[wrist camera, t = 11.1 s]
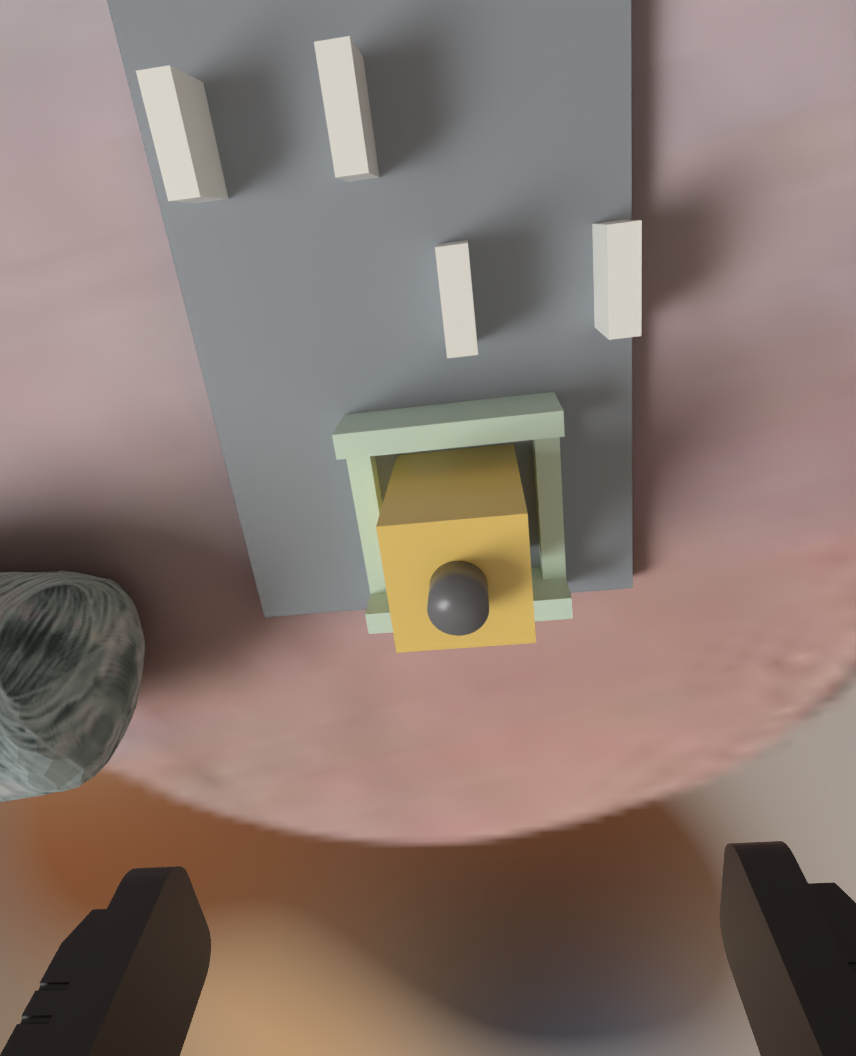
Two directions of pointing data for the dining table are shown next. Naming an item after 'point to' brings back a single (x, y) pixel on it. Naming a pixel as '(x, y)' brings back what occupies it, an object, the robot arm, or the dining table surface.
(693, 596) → the dining table surface
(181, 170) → the white blocks
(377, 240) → the board
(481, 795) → the dining table surface
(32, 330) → the dining table surface
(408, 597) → the yellow drawer
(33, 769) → the spool
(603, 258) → the white blocks
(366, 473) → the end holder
